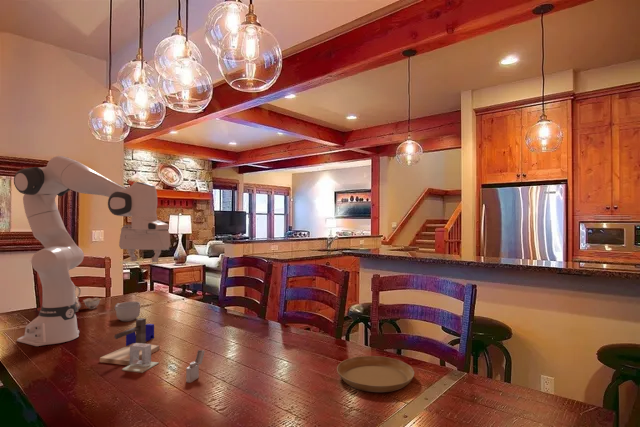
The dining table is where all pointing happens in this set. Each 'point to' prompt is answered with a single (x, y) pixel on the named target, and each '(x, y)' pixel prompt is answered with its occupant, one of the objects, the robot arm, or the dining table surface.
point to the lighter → (194, 367)
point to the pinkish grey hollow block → (135, 355)
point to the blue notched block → (149, 335)
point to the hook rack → (123, 354)
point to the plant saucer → (375, 373)
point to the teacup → (127, 310)
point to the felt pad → (137, 369)
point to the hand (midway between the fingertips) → (144, 261)
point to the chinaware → (86, 301)
